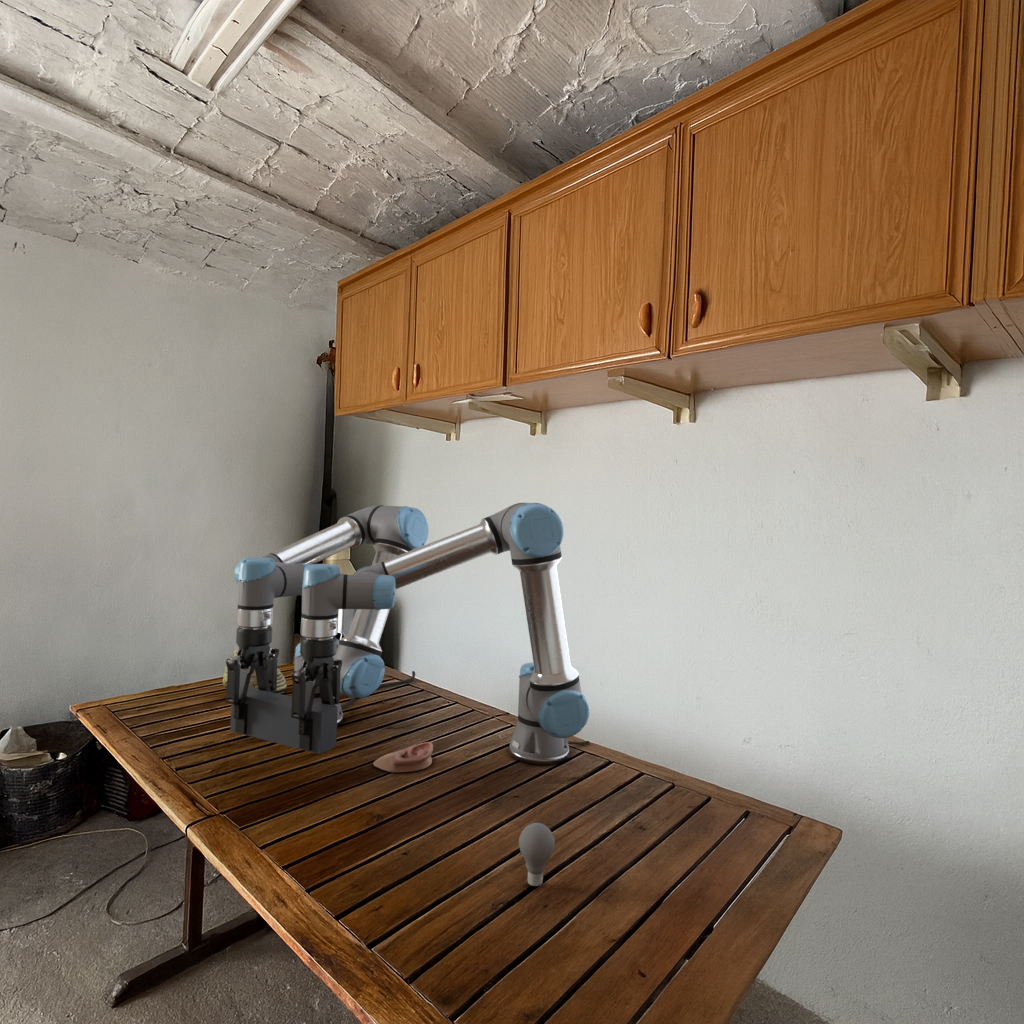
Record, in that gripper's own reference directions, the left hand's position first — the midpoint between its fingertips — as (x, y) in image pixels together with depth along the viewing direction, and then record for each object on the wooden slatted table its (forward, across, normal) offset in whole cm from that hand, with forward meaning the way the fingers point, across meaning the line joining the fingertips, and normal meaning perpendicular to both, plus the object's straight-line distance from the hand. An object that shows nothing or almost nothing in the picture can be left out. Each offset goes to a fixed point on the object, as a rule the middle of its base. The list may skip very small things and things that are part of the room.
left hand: (251, 728), depth 144 cm
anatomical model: (+10, +21, -28) cm, 36 cm away
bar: (+1, 0, -9) cm, 9 cm away
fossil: (+10, +41, +41) cm, 59 cm away
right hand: (0, 0, -18) cm, 18 cm away
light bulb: (+10, -9, -73) cm, 75 cm away
